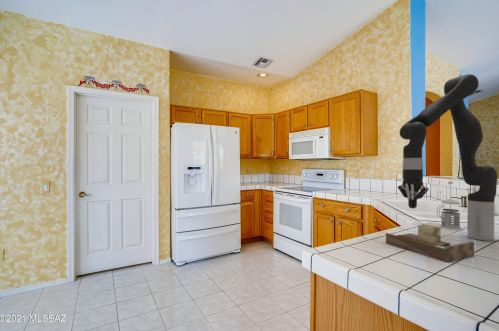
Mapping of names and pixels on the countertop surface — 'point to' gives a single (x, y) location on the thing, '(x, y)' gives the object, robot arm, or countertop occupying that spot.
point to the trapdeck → (432, 247)
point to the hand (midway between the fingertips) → (412, 208)
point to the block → (429, 233)
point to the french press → (447, 220)
